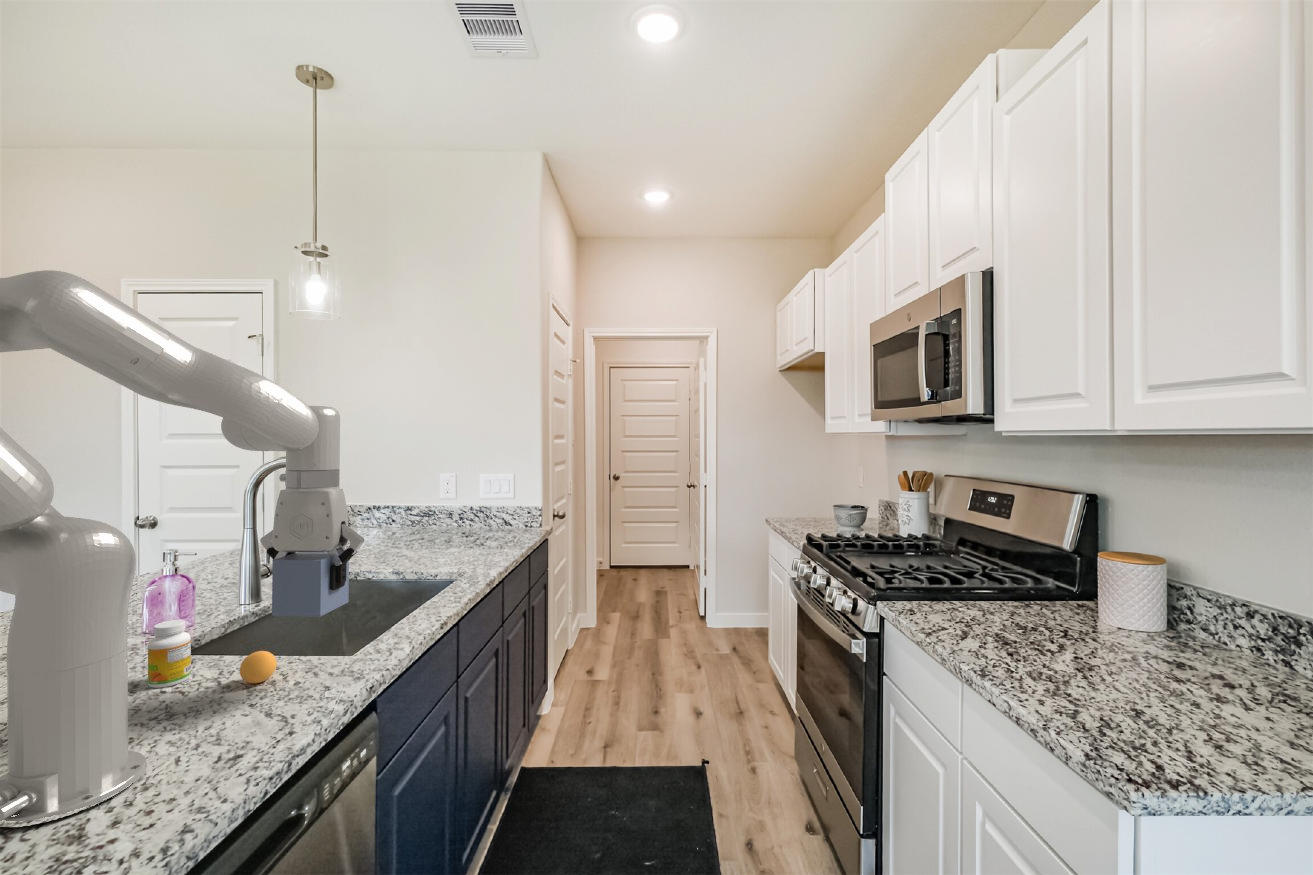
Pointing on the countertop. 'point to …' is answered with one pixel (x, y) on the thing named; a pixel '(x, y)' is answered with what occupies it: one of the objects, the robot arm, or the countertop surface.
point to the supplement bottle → (169, 654)
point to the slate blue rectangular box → (305, 585)
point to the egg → (258, 667)
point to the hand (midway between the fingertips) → (312, 587)
